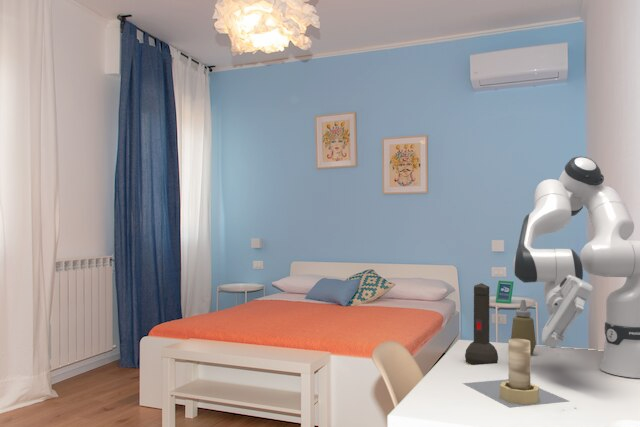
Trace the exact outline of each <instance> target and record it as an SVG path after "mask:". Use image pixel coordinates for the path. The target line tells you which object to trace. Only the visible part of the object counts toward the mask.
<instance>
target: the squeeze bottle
mask: <svg viewBox="0 0 640 427" xmlns="http://www.w3.org/2000/svg"><path fill="white" fill-rule="evenodd" d="M531 313H532V312H531V311H530V310H528V307H527V304H526V300H525V299H521V301H520V305H519V309H517V310H515V316H514V317H513V318H512V327H511V334H510V335H511V337H510V339H525V340H529V341H530V356H532V355H533V354H534V351H535V349H536V346H537V343H536V342H537V341H536V340H537V339H536V331H535V324H534V323H535V321H534V318H532V317H531V316H532V315H531Z"/></svg>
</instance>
